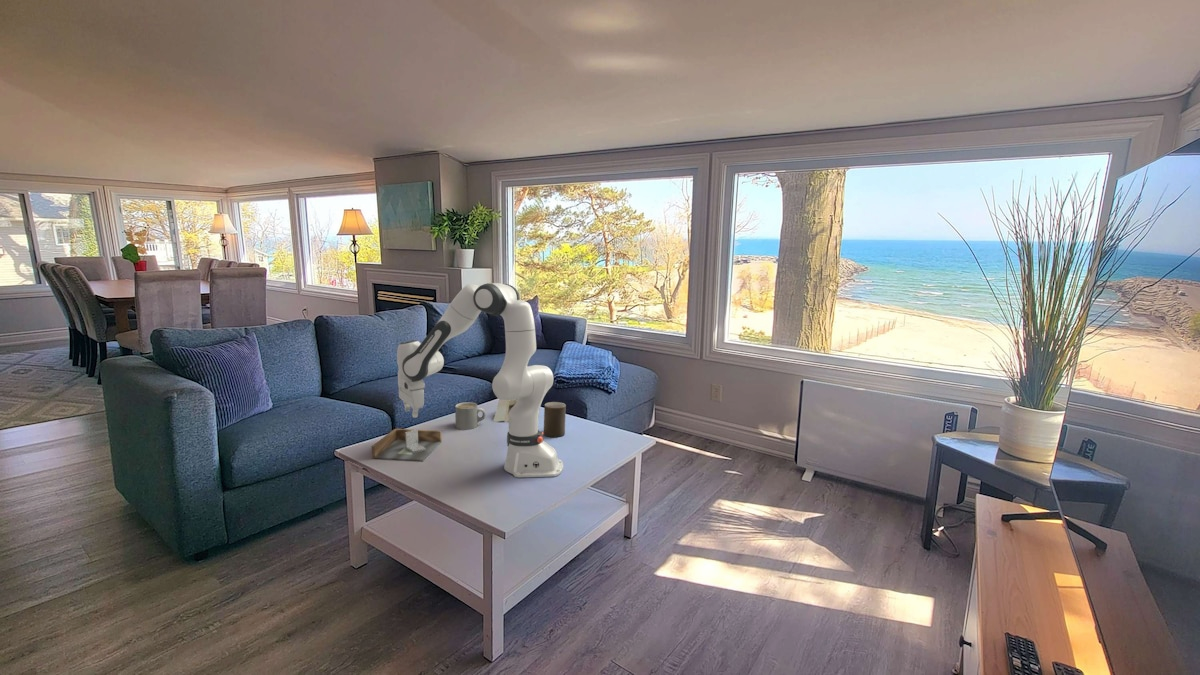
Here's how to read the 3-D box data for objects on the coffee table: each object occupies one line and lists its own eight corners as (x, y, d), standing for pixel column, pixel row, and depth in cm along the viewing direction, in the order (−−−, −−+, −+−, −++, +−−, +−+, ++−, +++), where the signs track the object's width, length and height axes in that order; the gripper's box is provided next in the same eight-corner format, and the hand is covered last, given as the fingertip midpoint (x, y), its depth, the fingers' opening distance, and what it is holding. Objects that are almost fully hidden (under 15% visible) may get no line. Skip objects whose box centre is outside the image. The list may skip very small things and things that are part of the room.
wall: (530, 427, 246) (532, 401, 255) (526, 418, 239) (528, 392, 248) (498, 430, 247) (501, 404, 257) (493, 422, 240) (496, 395, 250)
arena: (441, 442, 213) (441, 430, 212) (422, 461, 193) (422, 449, 192) (395, 439, 214) (395, 428, 213) (372, 458, 194) (371, 446, 193)
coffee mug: (453, 429, 228) (453, 408, 226) (458, 422, 238) (457, 402, 236) (483, 430, 229) (483, 409, 227) (486, 422, 239) (486, 402, 237)
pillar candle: (556, 439, 221) (557, 406, 219) (539, 434, 226) (540, 402, 224) (569, 433, 229) (570, 401, 227) (552, 428, 234) (553, 397, 232)
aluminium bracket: (405, 448, 203) (405, 432, 202) (417, 445, 206) (416, 429, 205) (414, 453, 198) (413, 437, 197) (425, 450, 202) (425, 433, 201)
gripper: (394, 376, 205) (395, 409, 208) (409, 387, 190) (411, 422, 192) (409, 374, 209) (410, 406, 211) (426, 384, 193) (427, 419, 196)
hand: (411, 414), depth 201 cm, fingers open, 8 cm apart
